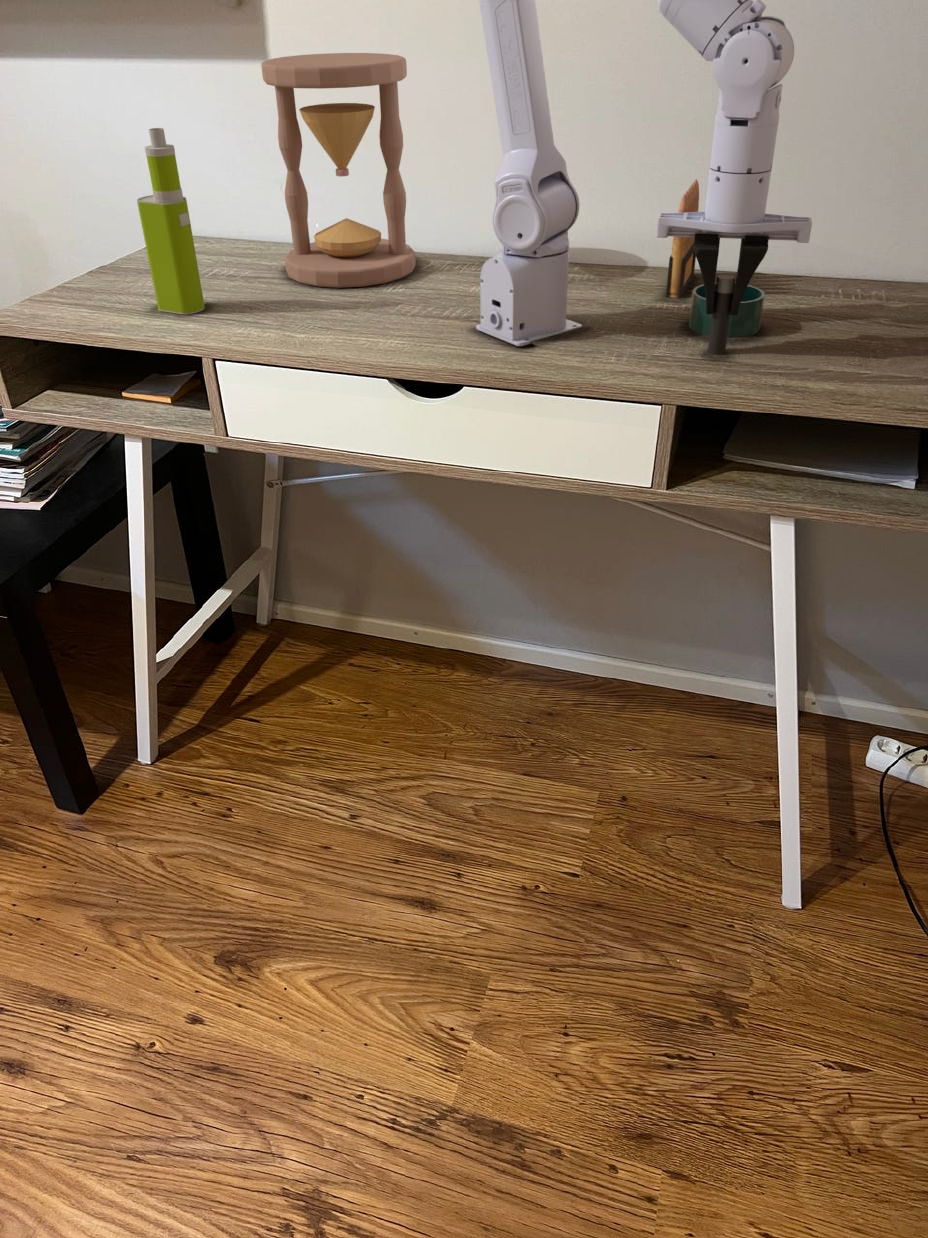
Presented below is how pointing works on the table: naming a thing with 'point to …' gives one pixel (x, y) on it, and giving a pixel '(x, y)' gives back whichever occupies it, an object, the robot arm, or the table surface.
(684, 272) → the ammunition clip
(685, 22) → the robot arm
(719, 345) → the marker
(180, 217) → the vape
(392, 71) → the hourglass
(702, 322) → the pen cup
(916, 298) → the table surface
